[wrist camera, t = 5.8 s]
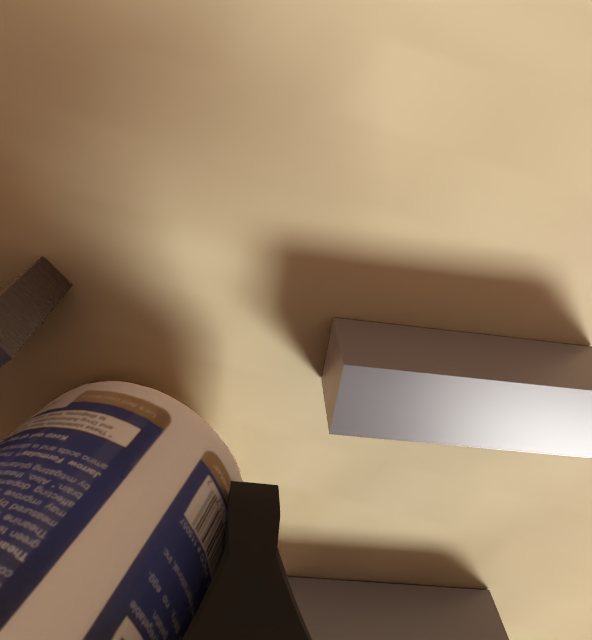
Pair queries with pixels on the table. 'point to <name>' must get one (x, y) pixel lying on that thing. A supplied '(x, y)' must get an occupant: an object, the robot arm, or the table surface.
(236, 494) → the robot arm
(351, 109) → the table surface
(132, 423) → the pill bottle
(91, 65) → the table surface
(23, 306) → the grey bottle cradle
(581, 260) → the table surface
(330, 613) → the grey u-shaped piece
